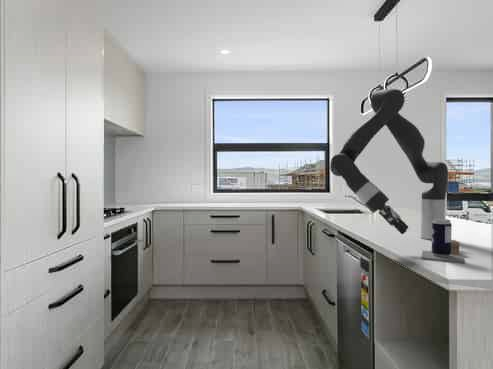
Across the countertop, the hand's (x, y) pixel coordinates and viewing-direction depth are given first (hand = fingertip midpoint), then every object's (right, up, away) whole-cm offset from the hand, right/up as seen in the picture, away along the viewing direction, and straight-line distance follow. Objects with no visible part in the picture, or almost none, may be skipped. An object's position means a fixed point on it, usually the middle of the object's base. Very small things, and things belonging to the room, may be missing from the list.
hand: (405, 230), depth 123 cm
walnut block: (+16, -8, +2) cm, 18 cm away
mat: (+10, -8, -5) cm, 14 cm away
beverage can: (+10, -8, -5) cm, 13 cm away
